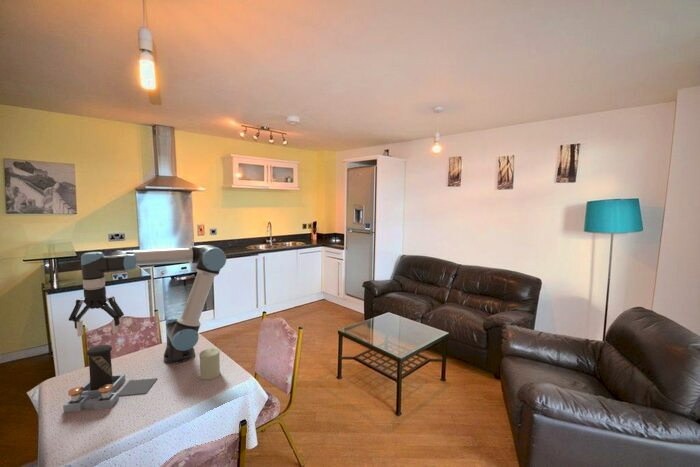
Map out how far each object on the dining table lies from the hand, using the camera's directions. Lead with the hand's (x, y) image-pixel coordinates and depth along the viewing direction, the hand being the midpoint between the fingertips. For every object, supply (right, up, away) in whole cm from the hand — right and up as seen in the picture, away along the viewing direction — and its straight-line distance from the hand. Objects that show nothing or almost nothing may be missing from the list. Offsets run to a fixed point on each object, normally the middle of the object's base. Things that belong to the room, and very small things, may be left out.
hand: (98, 334), depth 139 cm
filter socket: (-1, -26, +3) cm, 26 cm away
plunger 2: (+9, -26, -7) cm, 29 cm away
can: (+43, -26, +17) cm, 52 cm away
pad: (+14, -26, +5) cm, 30 cm away
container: (-1, -26, +3) cm, 27 cm away
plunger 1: (-1, -26, -9) cm, 28 cm away
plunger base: (+4, -27, -8) cm, 29 cm away
